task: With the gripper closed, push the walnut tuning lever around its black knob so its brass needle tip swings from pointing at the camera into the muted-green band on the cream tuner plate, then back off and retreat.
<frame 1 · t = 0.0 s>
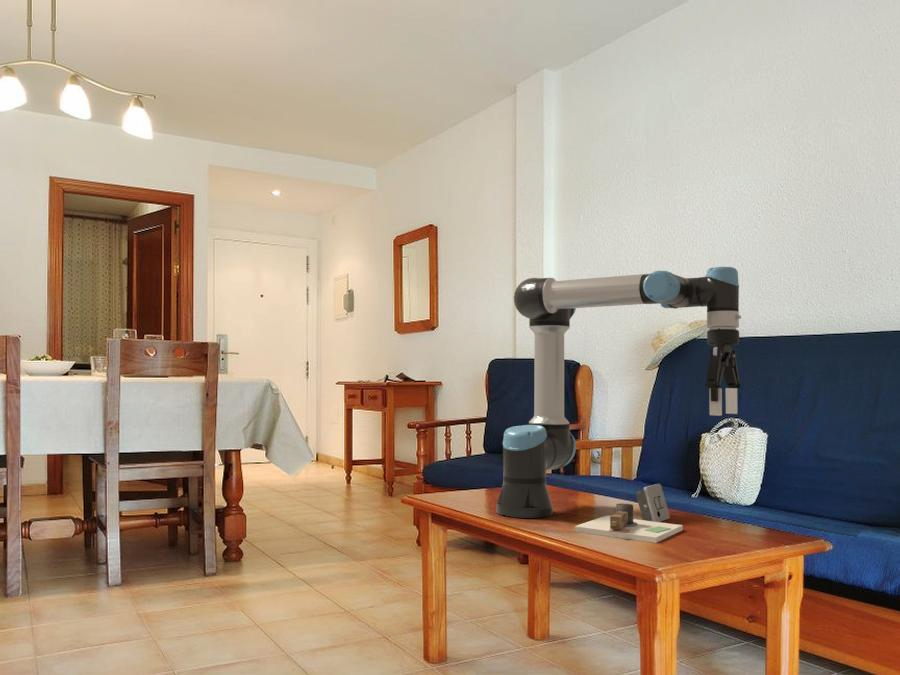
hand: (723, 414, 183), 28 cm above the table, fingers open, 13 cm apart
peg: (620, 517, 176), point 4 cm above the table, hinge at 0.0°
tuner plate: (629, 530, 178), on the table
electrical switch: (653, 521, 192), on the table
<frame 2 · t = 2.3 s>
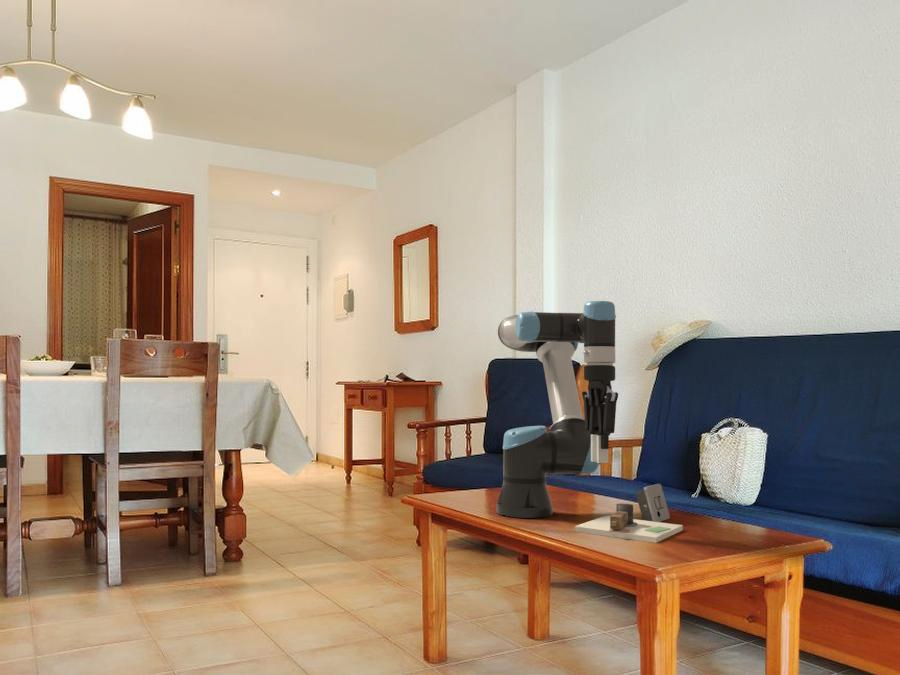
hand: (599, 461, 178), 16 cm above the table, fingers open, 2 cm apart
nothing on the table moved.
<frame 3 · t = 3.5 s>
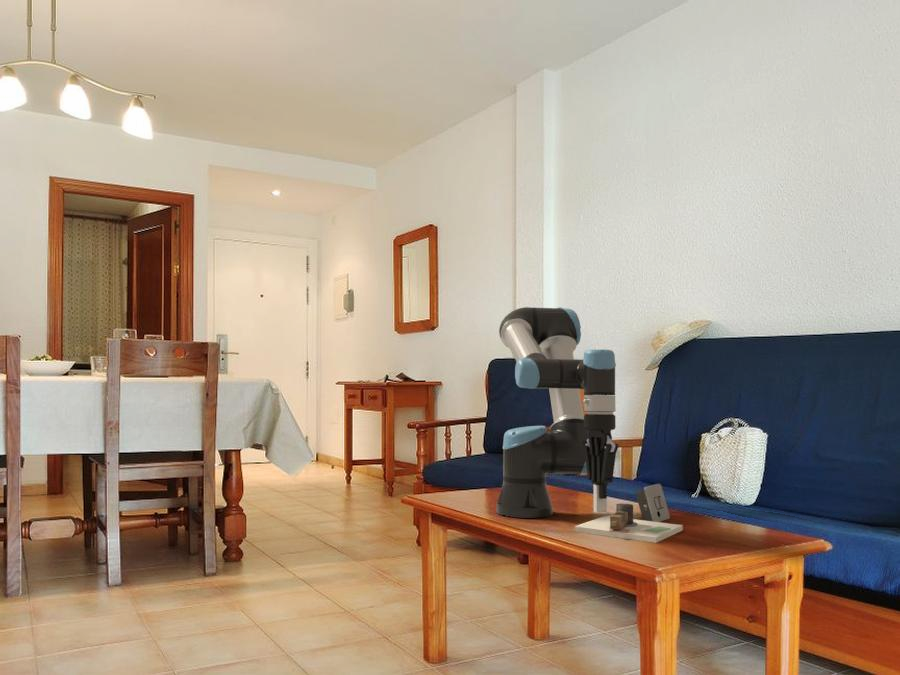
hand: (600, 511, 177), 5 cm above the table, fingers closed
nothing on the table moved.
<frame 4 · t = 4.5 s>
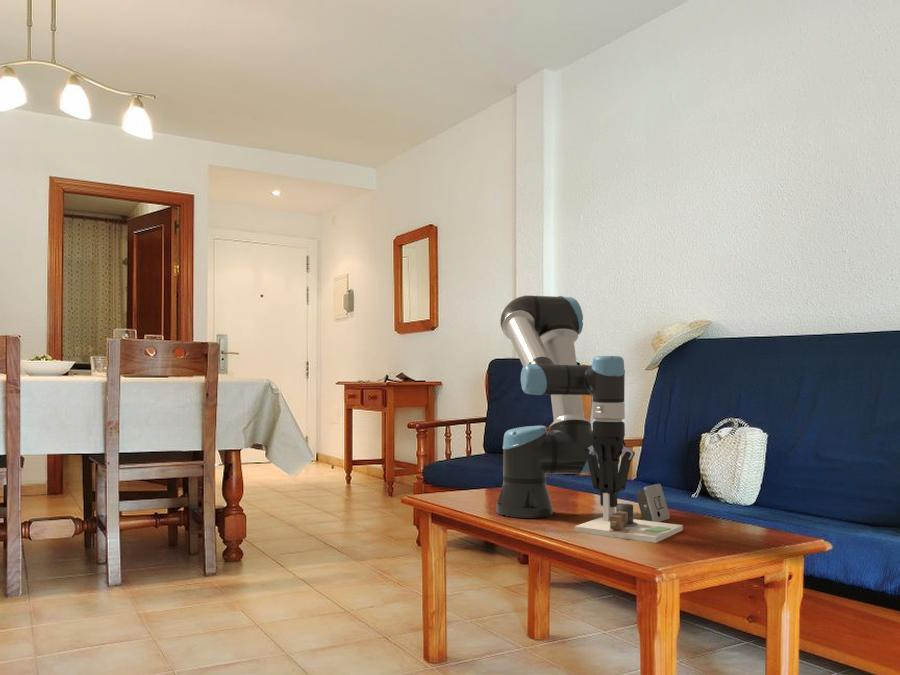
hand: (608, 520, 175), 3 cm above the table, fingers closed
peg: (620, 517, 176), point 4 cm above the table, hinge at 0.0°, touching gripper
everything else where it was.
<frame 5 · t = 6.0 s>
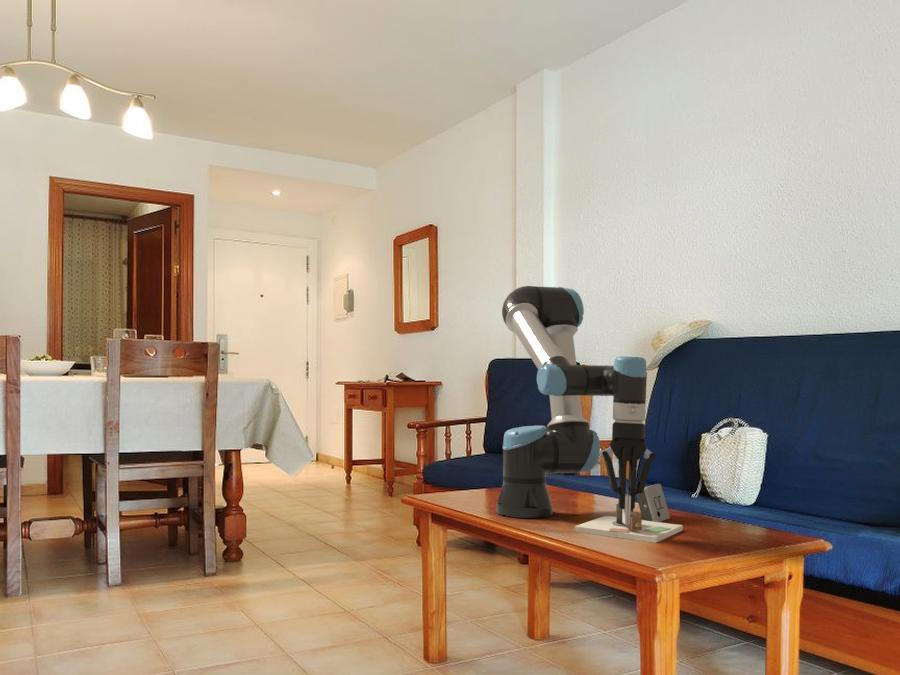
hand: (626, 523, 173), 3 cm above the table, fingers closed
peg: (630, 517, 175), point 4 cm above the table, hinge at 28.6°, touching gripper
everything else where it was.
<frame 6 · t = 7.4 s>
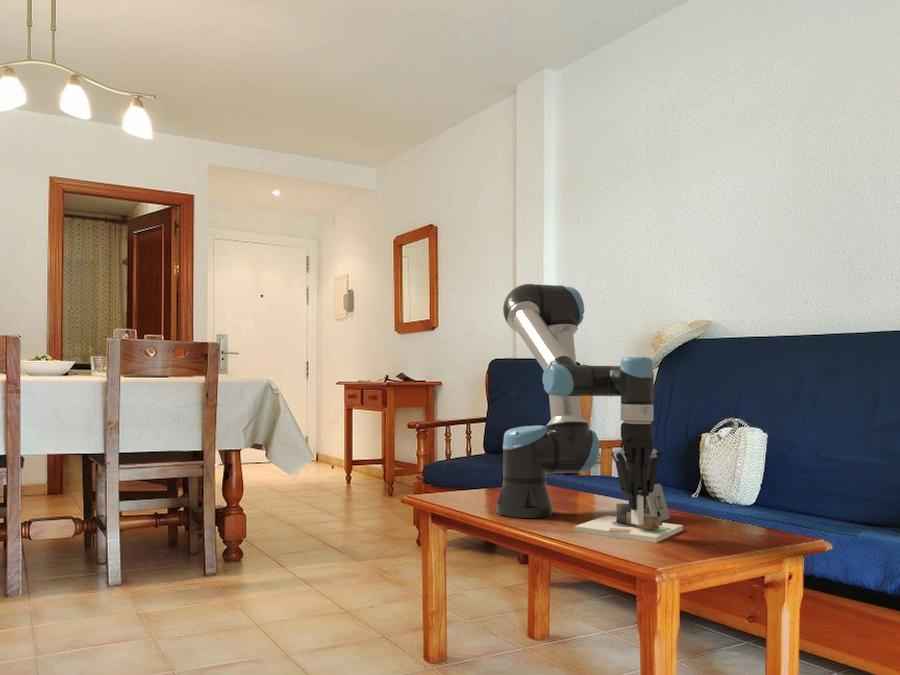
hand: (637, 523, 173), 3 cm above the table, fingers closed
peg: (639, 517, 176), point 4 cm above the table, hinge at 56.9°
everything else where it was.
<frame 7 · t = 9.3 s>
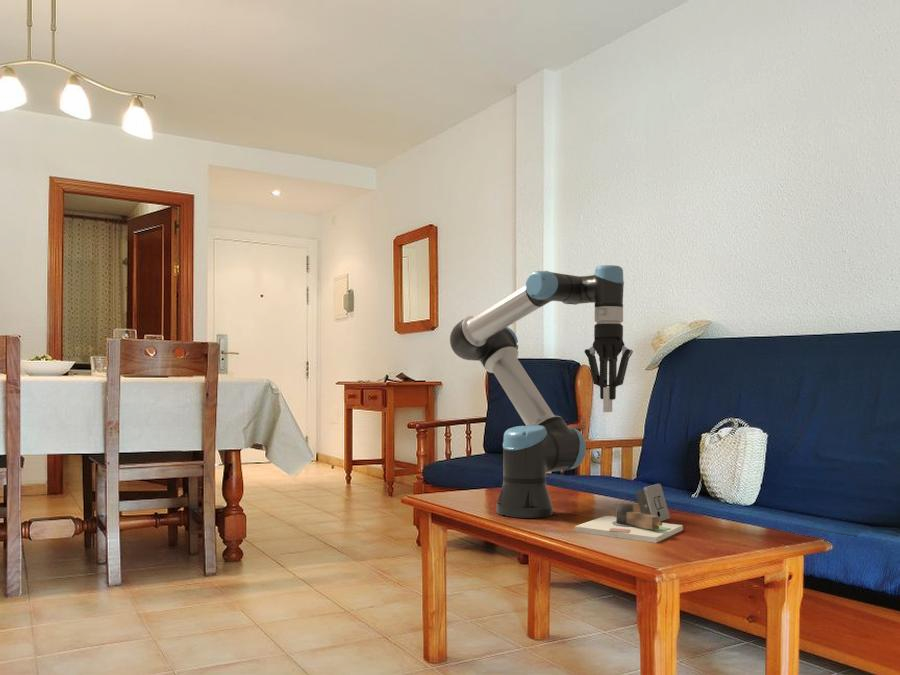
hand: (607, 411, 196), 28 cm above the table, fingers closed
nothing on the table moved.
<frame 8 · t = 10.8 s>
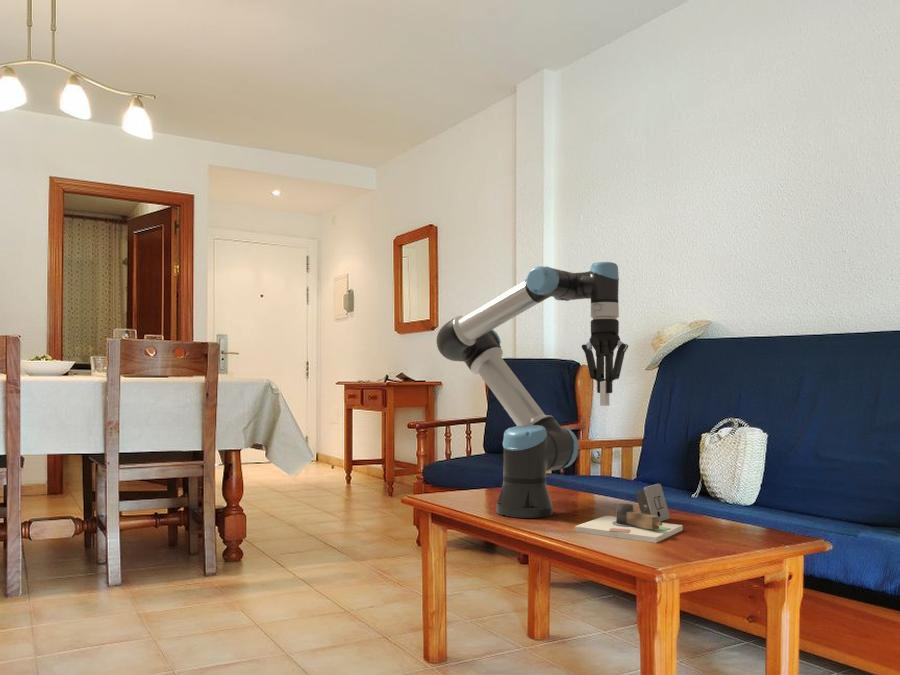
hand: (604, 405, 201), 29 cm above the table, fingers closed
nothing on the table moved.
at the end: peg at +57° (first picture: +0°); peg touching nothing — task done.
